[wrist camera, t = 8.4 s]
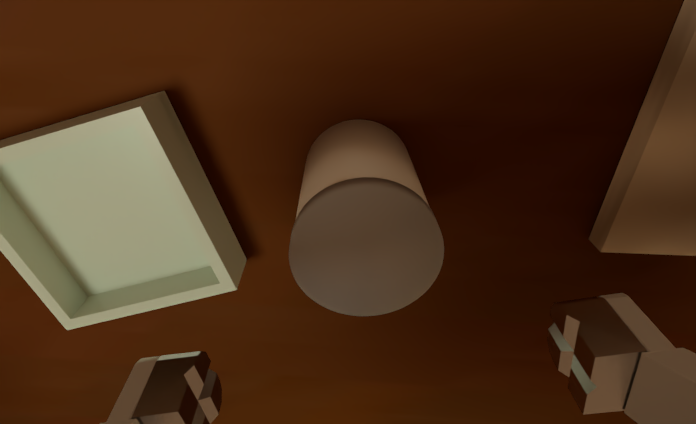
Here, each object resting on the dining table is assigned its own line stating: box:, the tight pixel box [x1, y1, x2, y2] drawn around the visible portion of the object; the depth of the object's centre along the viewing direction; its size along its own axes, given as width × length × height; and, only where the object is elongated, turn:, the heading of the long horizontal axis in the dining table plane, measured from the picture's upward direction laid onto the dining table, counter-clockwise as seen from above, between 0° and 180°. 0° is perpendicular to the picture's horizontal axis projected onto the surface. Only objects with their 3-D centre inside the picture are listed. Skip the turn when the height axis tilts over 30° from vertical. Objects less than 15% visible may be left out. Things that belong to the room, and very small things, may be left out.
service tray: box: [0, 91, 247, 330], centre depth 20 cm, size 9×9×2 cm
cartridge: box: [289, 119, 444, 316], centre depth 17 cm, size 5×5×7 cm
